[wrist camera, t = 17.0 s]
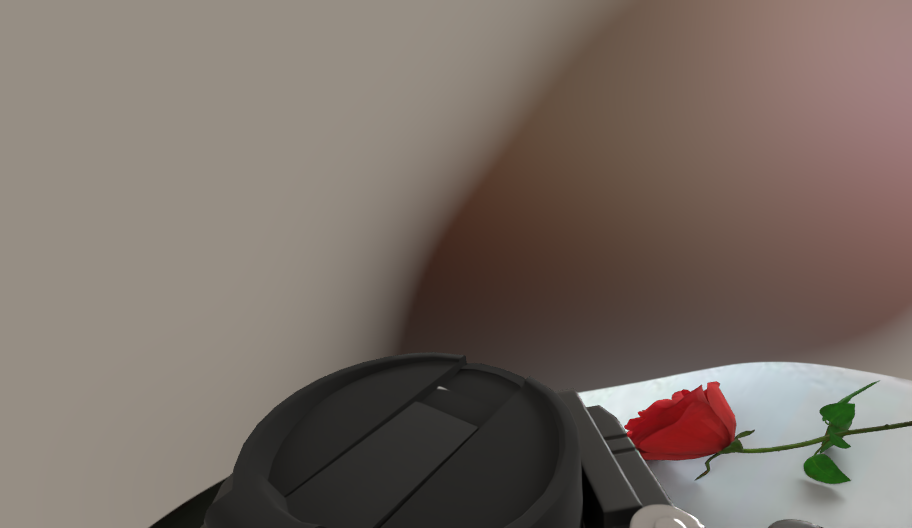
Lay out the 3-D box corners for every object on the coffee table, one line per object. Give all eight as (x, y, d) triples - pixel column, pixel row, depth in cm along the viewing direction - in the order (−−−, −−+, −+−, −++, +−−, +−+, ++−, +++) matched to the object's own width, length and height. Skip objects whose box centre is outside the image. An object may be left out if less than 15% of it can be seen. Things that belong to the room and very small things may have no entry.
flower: (953, 330, 39) (603, 378, 42) (1056, 439, 33) (635, 485, 36) (897, 377, 46) (599, 415, 49) (973, 475, 39) (626, 511, 43)
